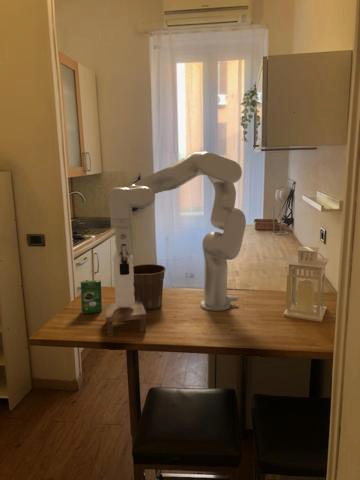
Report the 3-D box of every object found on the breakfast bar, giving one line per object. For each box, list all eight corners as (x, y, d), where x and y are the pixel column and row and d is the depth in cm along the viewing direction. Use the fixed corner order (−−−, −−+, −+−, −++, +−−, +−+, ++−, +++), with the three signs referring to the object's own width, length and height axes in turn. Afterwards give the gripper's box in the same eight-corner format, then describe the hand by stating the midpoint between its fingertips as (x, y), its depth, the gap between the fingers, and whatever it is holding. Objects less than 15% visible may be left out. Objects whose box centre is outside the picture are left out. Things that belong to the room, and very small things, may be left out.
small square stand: (141, 317, 150) (141, 300, 149) (146, 332, 137) (146, 313, 136) (105, 320, 147) (104, 303, 146) (107, 336, 134) (106, 317, 132)
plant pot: (121, 310, 158) (120, 272, 155) (137, 297, 173) (136, 262, 170) (158, 314, 153) (157, 275, 150) (171, 300, 168) (170, 265, 165)
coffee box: (101, 309, 159) (100, 279, 156) (102, 311, 156) (101, 281, 154) (81, 312, 156) (79, 281, 154) (82, 314, 153) (80, 283, 151)
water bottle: (117, 301, 144) (114, 236, 139) (136, 301, 144) (133, 236, 139) (113, 308, 137) (110, 240, 132) (133, 308, 137) (130, 239, 132)
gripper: (135, 226, 127) (136, 277, 130) (129, 218, 143) (131, 264, 147) (112, 227, 125) (114, 279, 129) (109, 219, 142) (111, 266, 145)
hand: (123, 271), depth 138 cm, fingers closed on water bottle, 6 cm apart
